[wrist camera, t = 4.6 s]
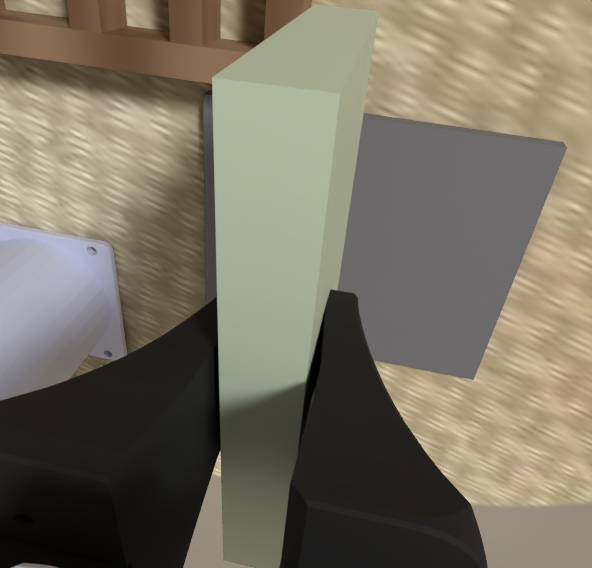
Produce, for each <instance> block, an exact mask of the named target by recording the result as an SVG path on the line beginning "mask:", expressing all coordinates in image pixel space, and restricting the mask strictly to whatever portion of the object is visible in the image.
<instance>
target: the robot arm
mask: <svg viewBox="0 0 592 568" xmlns="http://www.w3.org/2000/svg"><path fill="white" fill-rule="evenodd" d="M91 247H93V248H94V249H96V251H94V250H93V249H92V248H91ZM109 351H110V352H109ZM88 355H89V356H94V357H99V358H104V359H109V360H113V362H111V363H109V364H107V365H104V366H102V367H100V368H98V369H95V370H93V371H91V372H88V373H85V374H83V375H80V376H78V377H75V378H72V379H70V378H71V376H72V375H73V374H74V373H75V371H76V370H77V369H78V367H79V366H80V365H81V364H82V362H83V361H84V360H85V359H86V357H87V356H88ZM220 450H221V439H220V397H219V355H218V312H217V297H215V298H214V299H213V300H212V301H210V302H209V303H208V304H206V305H205V306H204V307H203V308H201V309H200V310H199V311H197V312H196V313H195V314H193V315H192V316H191V317H189V318H188V319H186V320H185V321H184V322H182V323H181V324H179V325H178V326H176V327H175V328H173V329H172V330H170V331H169V332H167V333H166V334H164V335H163V336H161V337H159V338H158V339H156V340H155V341H153V342H151V343H149V344H147V345H146V346H144V347H142V348H140V349H138V350H136V351H134V352H132V353H130V354H128V355H127V348H126V341H125V333H124V326H123V318H122V311H121V303H120V295H119V288H118V280H117V273H116V265H115V258H114V251H113V248H112V247H111V245H110V244H109V243H107V242H105V241H101V240H95V239H90V238H84V237H79V236H73V235H68V234H62V233H57V232H51V231H46V230H40V229H35V228H29V227H24V226H18V225H13V224H7V223H2V222H0V568H183V566H184V562H185V559H186V556H187V552H188V549H189V545H190V542H191V539H192V535H193V532H194V529H195V526H196V522H197V519H198V516H199V513H200V510H201V506H202V503H203V500H204V497H205V493H206V491H207V487H208V484H209V481H210V478H211V475H212V472H213V469H214V466H215V463H216V460H217V457H218V455H219V452H220ZM279 568H487V561H486V555H485V551H484V547H483V543H482V539H481V535H480V531H479V528H478V524H477V522H476V518H475V515H474V512H473V509H472V507H471V504H470V503H469V502H468V501H467V500H466V499H465V498H464V496H463V495H462V494H461V493H460V492H459V491H458V490H457V489H456V488H455V487H454V486H453V484H452V483H451V482H450V481H449V480H448V479H447V478H446V477H445V476H444V475H443V474H442V472H441V471H440V470H439V469H438V467H437V466H436V465H435V464H434V462H433V461H432V460H431V459H430V457H429V456H428V455H427V453H426V452H425V451H424V449H423V448H422V446H421V445H420V444H419V442H418V441H417V439H416V438H415V436H414V435H413V433H412V432H411V430H410V429H409V428H408V426H407V425H406V423H405V422H404V420H403V418H402V417H401V415H400V413H399V412H398V410H397V408H396V407H395V405H394V403H393V401H392V399H391V397H390V396H389V394H388V392H387V390H386V388H385V386H384V384H383V382H382V379H381V377H380V375H379V373H378V370H377V368H376V366H375V363H374V361H373V358H372V355H371V353H370V350H369V347H368V344H367V341H366V338H365V335H364V331H363V327H362V323H361V319H360V314H359V307H358V297H357V296H356V295H355V293H350V292H344V291H338V290H332V289H331V290H330V293H329V296H328V299H327V303H326V307H325V314H324V321H323V329H322V336H321V343H320V351H319V358H318V365H317V372H316V380H315V387H314V396H313V400H312V404H311V408H310V412H309V416H308V420H307V423H306V427H305V431H304V435H303V439H302V443H301V446H300V450H299V453H298V457H297V461H296V464H295V468H294V471H293V475H292V478H291V482H290V488H289V497H288V505H287V514H286V522H285V531H284V539H283V548H282V556H281V562H280V567H279Z"/></svg>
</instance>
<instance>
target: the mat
mask: <svg viewBox="0 0 592 568" xmlns="http://www.w3.org/2000/svg"><path fill="white" fill-rule="evenodd" d="M203 119H204V194H205V269H206V304H208V303H209V302H210V301H212V300H213V299H214V298H215V297H217V270H216V227H215V185H214V143H213V100H212V91H207V92H206V93H204V94H203ZM566 149H567V147H566V145H565V144H564V143H563V142H557V141H550V140H544V139H537V138H530V137H523V136H516V135H509V134H502V133H495V132H489V131H482V130H475V129H468V128H461V127H454V126H447V125H440V124H434V123H427V122H420V121H413V120H406V119H399V118H392V117H385V116H379V115H372V114H365V113H364V114H363V121H362V127H361V134H360V141H359V148H358V154H357V161H356V168H355V175H354V182H353V188H352V195H351V202H350V209H349V215H348V222H347V229H346V236H345V243H344V249H343V256H342V263H341V270H340V276H339V283H338V291H344V292H350V293H355V295H356V296H357V297H358V307H359V314H360V319H361V323H362V327H363V331H364V335H365V338H366V341H367V344H368V347H369V350H370V353H371V355H372V358H373V360H376V361H381V362H386V363H391V364H396V365H401V366H406V367H412V368H417V369H422V370H427V371H432V372H437V373H442V374H447V375H452V376H457V377H462V378H467V379H472V380H474V377H475V375H476V372H477V370H478V367H479V365H480V362H481V360H482V357H483V355H484V352H485V350H486V347H487V345H488V342H489V340H490V337H491V335H492V332H493V330H494V327H495V325H496V323H497V320H498V318H499V315H500V313H501V310H502V308H503V305H504V303H505V300H506V298H507V295H508V293H509V290H510V288H511V285H512V283H513V280H514V278H515V275H516V273H517V270H518V268H519V265H520V263H521V261H522V258H523V256H524V253H525V251H526V248H527V246H528V243H529V241H530V238H531V236H532V233H533V231H534V228H535V226H536V223H537V221H538V218H539V216H540V213H541V211H542V208H543V206H544V203H545V201H546V199H547V196H548V194H549V191H550V189H551V186H552V184H553V181H554V179H555V176H556V174H557V171H558V169H559V166H560V164H561V161H562V159H563V156H564V154H565V151H566Z"/></svg>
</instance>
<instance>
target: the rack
mask: <svg viewBox="0 0 592 568" xmlns="http://www.w3.org/2000/svg"><path fill="white" fill-rule="evenodd" d="M311 2H312V0H266V9H265V30H264V40H266V39H267V38H268V37H270V36H271V35H273V34H274V33H275V32H277V31H278V30H280V29H281V28H282V27H284V26H285V25H287V24H288V23H290V22H291V21H292V20H294V19H295V18H297V17H298V16H299V15H301V14H302V13H304V12H305V11H306V10H308V9H309V8H311ZM66 3H67V9H68V16H69V18H62V17H55V16H47V15H40V14H32V13H25V12H17V11H10V10H5V5H4V0H0V53H1V54H8V55H15V56H22V57H29V58H36V59H43V60H50V61H57V62H64V63H71V64H78V65H84V66H91V67H98V68H105V69H112V70H119V71H126V72H133V73H140V74H147V75H154V76H161V77H168V78H175V79H182V80H189V81H196V82H203V83H210V84H212V77H213V76H215V75H216V74H218V73H219V72H221V71H222V70H223V69H225V68H226V67H228V66H229V65H230V64H232V63H233V62H235V61H236V60H237V59H239V58H240V57H242V56H243V55H244V54H246V53H247V52H249V51H250V50H252V49H253V48H254V47H256V46H257V45H259V44H257V43H249V42H242V41H234V40H227V39H220V0H168V8H169V29H170V32H167V31H159V30H152V29H144V28H137V27H129V26H127V20H126V9H125V0H66Z"/></svg>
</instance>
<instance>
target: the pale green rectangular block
mask: <svg viewBox="0 0 592 568" xmlns="http://www.w3.org/2000/svg"><path fill="white" fill-rule="evenodd" d="M378 12H379V11H373V10H363V9H354V8H344V7H335V6H326V5H316V4H315V5H313V6H312V7H311V8H309V9H308V10H306V11H305V12H304V13H302V14H301V15H299V16H298V17H297V18H295V19H294V20H292V21H291V22H290V23H288V24H287V25H285V26H284V27H282V28H281V29H280V30H278V31H277V32H275V33H274V34H273V35H271V36H270V37H268V38H267V39H266V40H264V41H263V42H261V43H260V44H259V45H257V46H256V47H254V48H253V49H252V50H250V51H249V52H247V53H246V54H244V55H243V56H242V57H240V58H239V59H237V60H236V61H235V62H233V63H232V64H230V65H229V66H228V67H226V68H225V69H223V70H222V71H221V72H219V73H218V74H216V75H215V76H213V77H212V100H213V143H214V185H215V227H216V270H217V312H218V355H219V397H220V439H221V482H222V520H223V521H222V524H223V560H225V561H229V562H234V563H237V564H242V565H246V566H250V567H254V568H279V567H280V562H281V556H282V548H283V539H284V531H285V522H286V514H287V505H288V497H289V488H290V482H291V478H292V475H293V471H294V468H295V464H296V461H297V457H298V453H299V450H300V446H301V443H302V439H303V435H304V431H305V427H306V423H307V420H308V416H309V412H310V408H311V404H312V400H313V396H314V387H315V380H316V372H317V365H318V358H319V351H320V343H321V336H322V329H323V321H324V314H325V307H326V303H327V299H328V296H329V293H330V290H331V289H332V290H338V283H339V276H340V270H341V263H342V256H343V249H344V243H345V236H346V229H347V222H348V215H349V209H350V202H351V195H352V188H353V182H354V175H355V168H356V161H357V154H358V148H359V141H360V134H361V127H362V121H363V114H364V107H365V100H366V94H367V87H368V80H369V73H370V66H371V60H372V53H373V46H374V39H375V33H376V26H377V19H378Z"/></svg>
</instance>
